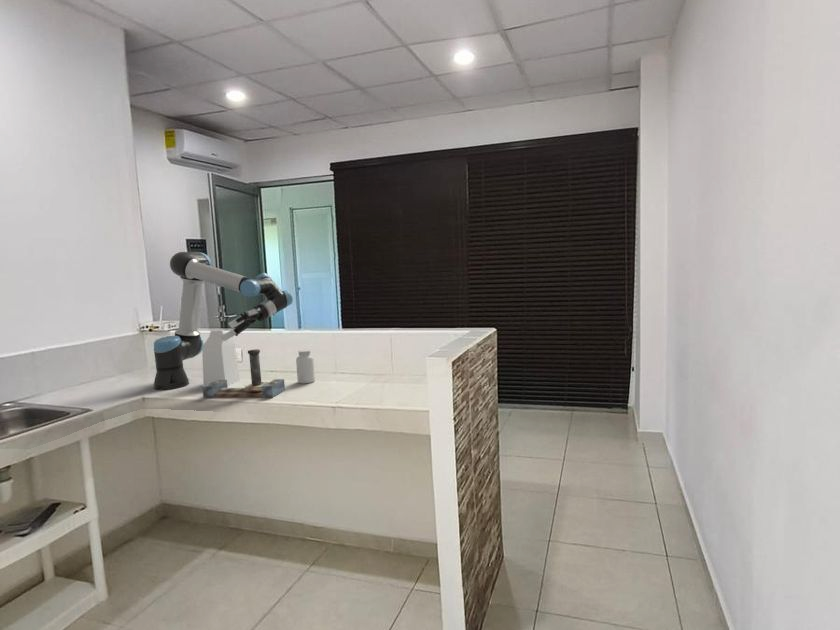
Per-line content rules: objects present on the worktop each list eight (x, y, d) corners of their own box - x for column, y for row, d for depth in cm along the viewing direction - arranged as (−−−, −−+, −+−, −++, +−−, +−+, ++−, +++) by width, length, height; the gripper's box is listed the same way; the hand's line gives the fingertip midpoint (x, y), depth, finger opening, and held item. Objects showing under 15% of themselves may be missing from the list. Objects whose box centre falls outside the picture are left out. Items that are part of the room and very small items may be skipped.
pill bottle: (317, 379, 242) (315, 349, 240) (309, 384, 234) (307, 352, 232) (303, 379, 244) (300, 348, 242) (294, 383, 236) (292, 352, 234)
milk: (203, 386, 240) (198, 332, 237) (218, 380, 251) (213, 328, 248) (225, 386, 237) (220, 331, 234) (240, 380, 248) (235, 328, 245)
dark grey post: (245, 392, 217) (241, 352, 215) (254, 387, 225) (250, 348, 223) (260, 392, 216) (256, 352, 214) (268, 387, 224) (265, 348, 222)
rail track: (203, 398, 218) (202, 385, 218) (218, 390, 230) (217, 378, 230) (272, 397, 213) (271, 385, 213) (285, 390, 225) (284, 378, 224)
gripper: (277, 304, 227) (239, 326, 213) (261, 328, 245) (224, 350, 231) (267, 291, 228) (227, 312, 213) (251, 316, 246) (214, 337, 231)
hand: (226, 332), depth 222 cm, fingers open, 13 cm apart
